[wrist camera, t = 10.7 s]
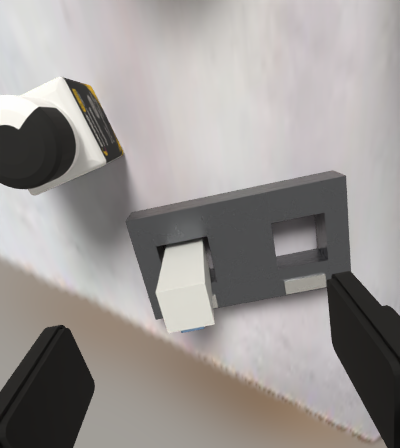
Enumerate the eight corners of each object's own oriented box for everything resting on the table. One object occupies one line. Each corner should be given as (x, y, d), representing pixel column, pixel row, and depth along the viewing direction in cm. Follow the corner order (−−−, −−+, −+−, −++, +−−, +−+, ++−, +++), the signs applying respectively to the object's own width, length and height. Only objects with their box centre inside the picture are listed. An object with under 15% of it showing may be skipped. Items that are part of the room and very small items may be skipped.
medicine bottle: (125, 154, 31) (86, 175, 20) (65, 180, 32) (-5, 215, 21) (91, 84, 29) (25, 63, 18) (27, 114, 30) (-74, 113, 19)
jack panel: (332, 170, 32) (346, 176, 29) (339, 269, 36) (352, 283, 33) (131, 212, 34) (125, 222, 31) (158, 304, 37) (155, 320, 34)
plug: (201, 232, 34) (204, 283, 24) (210, 268, 36) (216, 330, 26) (167, 240, 35) (155, 292, 24) (176, 275, 36) (169, 338, 26)
